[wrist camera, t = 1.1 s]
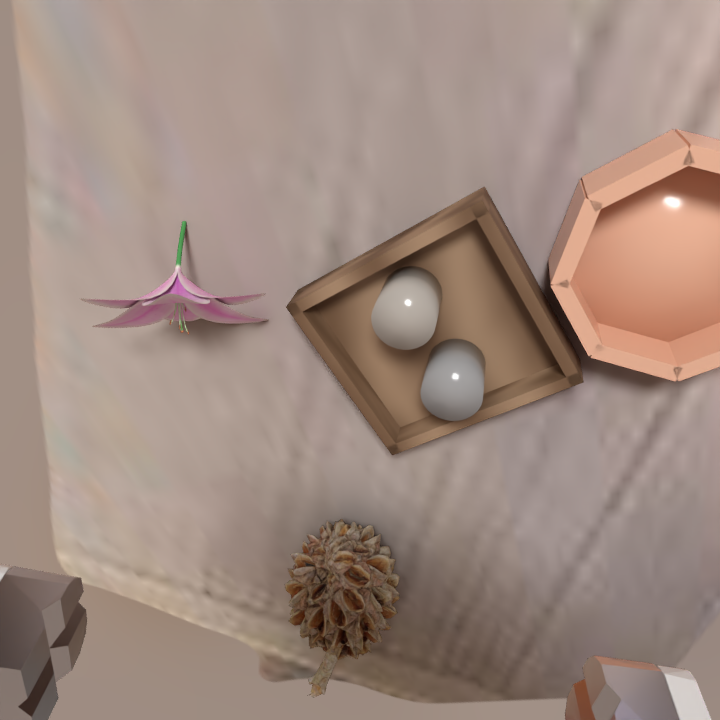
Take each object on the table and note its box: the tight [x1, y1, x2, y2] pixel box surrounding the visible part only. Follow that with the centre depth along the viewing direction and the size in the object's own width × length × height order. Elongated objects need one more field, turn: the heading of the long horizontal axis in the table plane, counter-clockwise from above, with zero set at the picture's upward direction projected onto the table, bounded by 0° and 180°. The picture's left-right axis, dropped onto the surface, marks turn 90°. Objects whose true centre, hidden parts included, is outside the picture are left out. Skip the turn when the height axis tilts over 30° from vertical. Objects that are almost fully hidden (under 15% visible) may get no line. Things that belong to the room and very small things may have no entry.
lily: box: [81, 221, 267, 334], centre depth 44 cm, size 12×12×10 cm
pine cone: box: [285, 519, 400, 698], centre depth 56 cm, size 22×10×10 cm, turn 174°
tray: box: [286, 187, 583, 455], centre depth 44 cm, size 15×14×3 cm
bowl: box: [548, 129, 720, 382], centre depth 38 cm, size 13×13×4 cm
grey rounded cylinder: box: [421, 339, 486, 421], centre depth 44 cm, size 4×4×4 cm
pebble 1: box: [371, 266, 443, 350], centre depth 42 cm, size 4×4×4 cm
